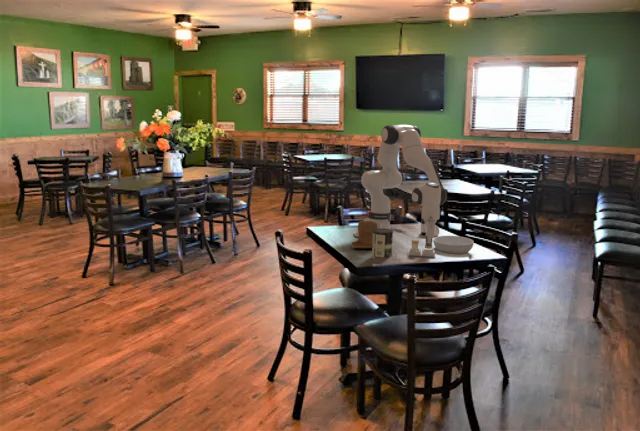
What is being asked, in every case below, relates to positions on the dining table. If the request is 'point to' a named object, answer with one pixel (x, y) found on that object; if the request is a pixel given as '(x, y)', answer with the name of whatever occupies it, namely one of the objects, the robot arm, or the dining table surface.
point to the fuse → (415, 245)
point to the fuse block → (425, 253)
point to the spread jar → (423, 230)
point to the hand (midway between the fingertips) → (428, 241)
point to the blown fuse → (428, 244)
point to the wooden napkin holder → (365, 234)
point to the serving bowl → (453, 244)
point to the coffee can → (382, 243)
